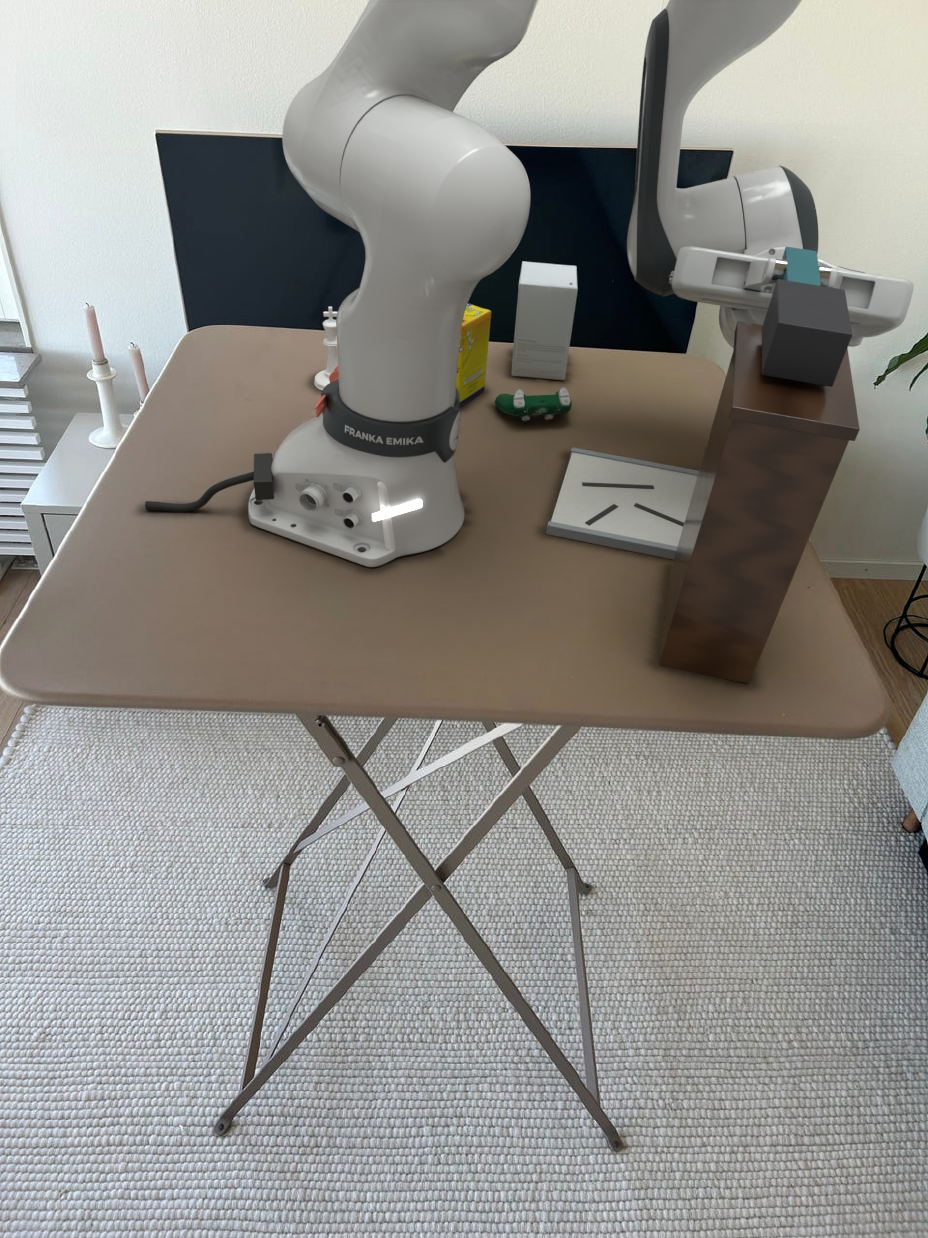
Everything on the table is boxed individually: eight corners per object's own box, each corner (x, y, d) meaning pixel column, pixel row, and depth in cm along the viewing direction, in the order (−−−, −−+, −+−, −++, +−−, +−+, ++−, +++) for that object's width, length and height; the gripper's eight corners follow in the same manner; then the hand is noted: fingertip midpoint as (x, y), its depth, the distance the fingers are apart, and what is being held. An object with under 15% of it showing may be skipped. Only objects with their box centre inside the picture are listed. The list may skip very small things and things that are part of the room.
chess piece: (314, 373, 114) (309, 298, 107) (352, 373, 115) (350, 298, 108) (314, 392, 111) (309, 316, 104) (353, 392, 111) (351, 316, 104)
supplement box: (420, 393, 112) (422, 310, 104) (447, 376, 116) (451, 294, 108) (458, 409, 110) (463, 325, 102) (485, 391, 113) (492, 308, 106)
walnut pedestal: (655, 666, 79) (732, 406, 61) (668, 566, 89) (737, 320, 72) (752, 687, 78) (860, 428, 60) (754, 584, 88) (846, 338, 70)
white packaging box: (565, 356, 122) (579, 264, 113) (564, 382, 116) (578, 287, 108) (512, 350, 122) (521, 259, 113) (509, 376, 117) (518, 282, 108)
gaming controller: (495, 426, 110) (506, 414, 105) (492, 396, 111) (503, 383, 105) (566, 423, 112) (580, 411, 106) (563, 393, 112) (577, 379, 106)
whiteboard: (545, 534, 92) (547, 525, 91) (570, 455, 103) (571, 446, 103) (723, 569, 89) (726, 560, 89) (728, 485, 101) (731, 476, 100)
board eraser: (761, 375, 63) (778, 321, 61) (761, 276, 77) (775, 229, 74) (832, 387, 63) (853, 334, 60) (820, 285, 76) (836, 238, 74)
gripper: (675, 247, 86) (683, 212, 72) (892, 281, 83) (942, 251, 69) (660, 314, 87) (665, 292, 74) (873, 350, 84) (918, 334, 71)
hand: (802, 273), depth 72 cm, fingers closed on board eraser, 2 cm apart
